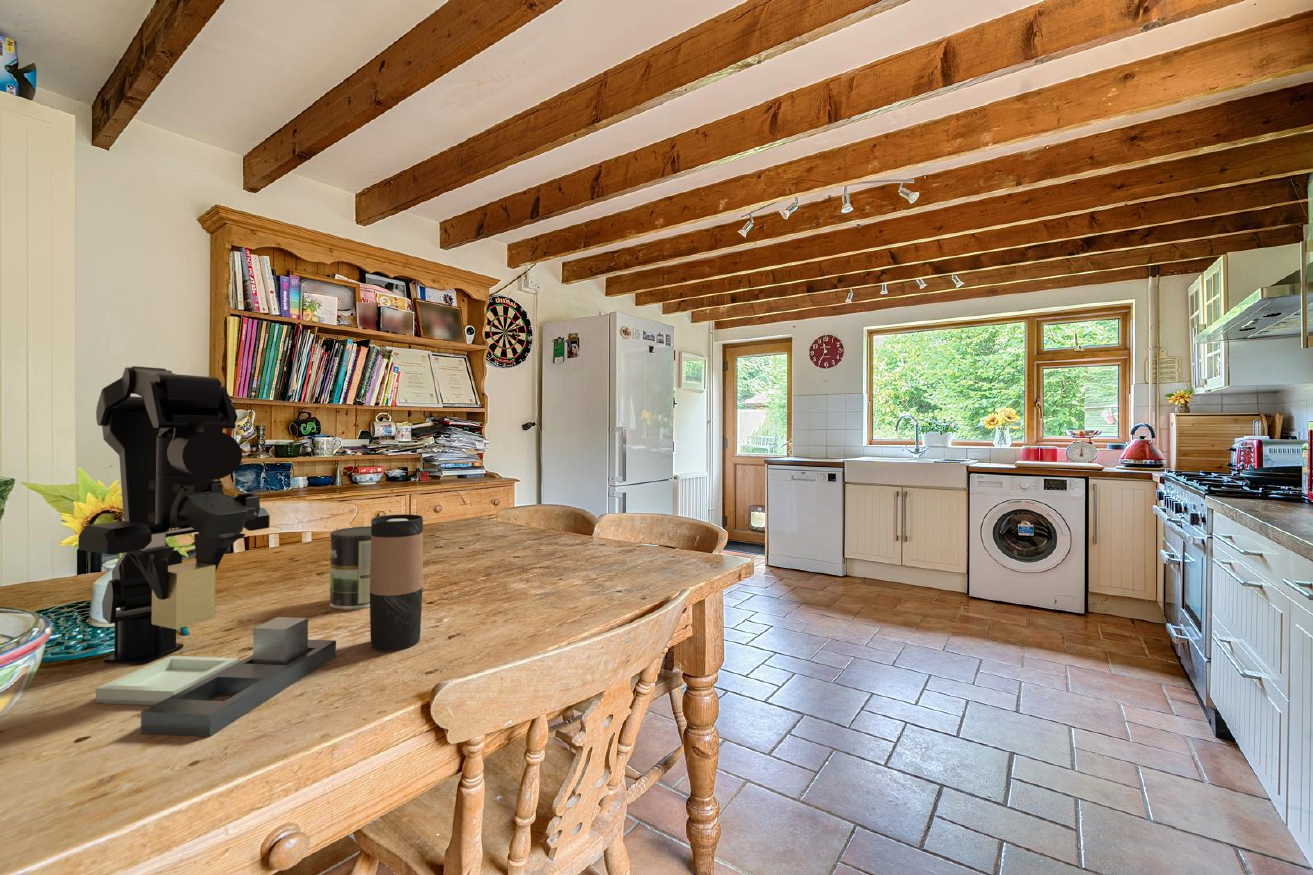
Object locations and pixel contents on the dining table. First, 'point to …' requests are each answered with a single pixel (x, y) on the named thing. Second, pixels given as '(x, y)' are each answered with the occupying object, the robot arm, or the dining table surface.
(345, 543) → the coffee can
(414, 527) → the travel mug
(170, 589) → the beige wooden block
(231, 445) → the robot arm
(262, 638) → the grey square block
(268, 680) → the rail
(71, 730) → the dining table surface
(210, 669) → the tray
